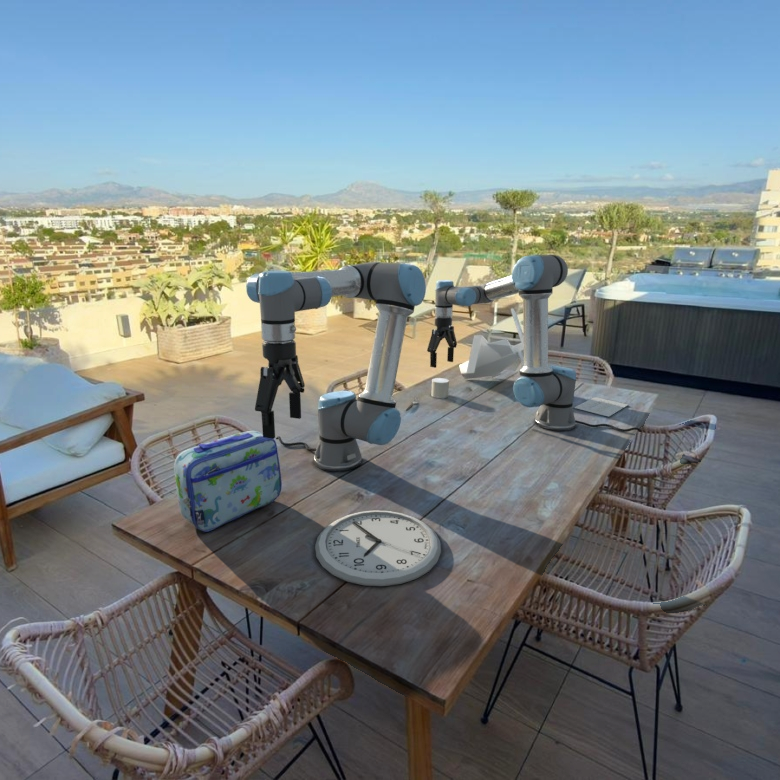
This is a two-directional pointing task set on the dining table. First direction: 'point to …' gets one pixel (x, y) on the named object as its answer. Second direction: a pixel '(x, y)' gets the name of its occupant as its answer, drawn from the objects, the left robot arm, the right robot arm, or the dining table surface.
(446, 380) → the canister
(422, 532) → the wall clock
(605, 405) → the invitation card
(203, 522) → the lunch box
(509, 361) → the white plastic object
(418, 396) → the fork
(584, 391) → the dining table surface
